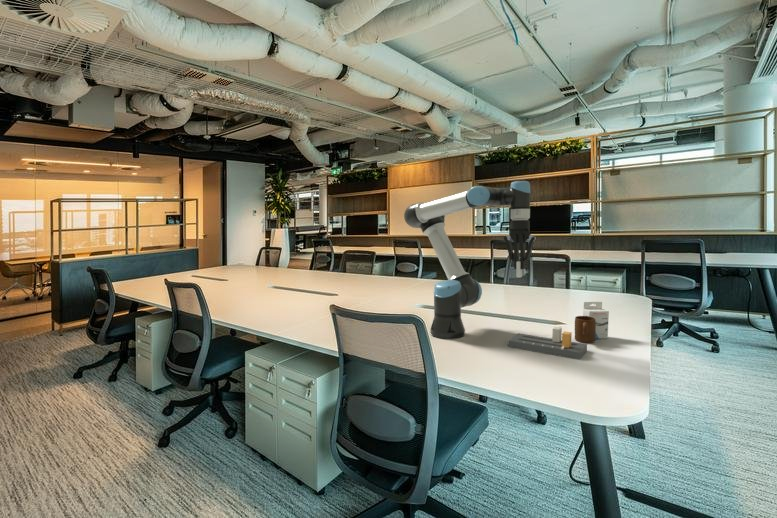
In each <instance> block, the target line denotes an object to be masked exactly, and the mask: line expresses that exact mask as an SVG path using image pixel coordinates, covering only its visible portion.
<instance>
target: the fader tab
mask: <svg viewBox="0 0 777 518" xmlns="http://www.w3.org/2000/svg"><path fill="white" fill-rule="evenodd" d="M572 333H573V332H571V331H562V338H561V340H562V346H564V347H566V348H569V347H570V346H571V342H572Z"/></svg>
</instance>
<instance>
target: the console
mask: <svg viewBox="0 0 777 518" xmlns="http://www.w3.org/2000/svg"><path fill="white" fill-rule="evenodd" d="M507 347H509V348H514V349H519V350H526V351H531V352H536V353H541V354H548V355H553V356H559V357H563V358H569V359H575V360H581V358H583V356H584V355H585V354H586V353H587V351H588V343H583V342H578V341H577V342H576V341H571V346H570V347H569V348H566V347H564V346H562V339H561V341H560V342H553V341H552V337H551V338H550V337H546V336H545V337H543V336H538V335H532V334H527V333H526V334H525V333H520V332H519V333H516V334H515V335H514V336H512V337H511V338H509V339H507Z"/></svg>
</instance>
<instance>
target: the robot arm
mask: <svg viewBox="0 0 777 518" xmlns="http://www.w3.org/2000/svg"><path fill="white" fill-rule="evenodd" d="M531 193H532V192H531V182H529V181H527V180H515V181H512V182H511V183H510V186H509V187H491V186H483V185H475V186H472V187H471V188H470V189H469V190H466V191H465V190H464V191H461V192H458V193H455V194H452V195H447V196H444V197H442V198H437V199H435V200H431V201H428V202H422V201H419V202H417V203H412V204H410V205H408V206H407V207H406V208H405V210H404V213H403V217H404V220H405V223H406V224H407V225H408V226H409V227H410V228H411V227H412V228H415V229H420V230H421V232H422V234H423V235H424V236H427V237H428V239H429V241H430V244H431V246H432V248H433V250H434V253H435V254H436V256H437V259H438V260H439V263H440V265H441V267H442V269H443V271H444V272H445V273H444V274H445V276H446V277H447V280H440V281H438V282H436V283H435V285H434V286H433V288H434V289H433V309H434V311H433V313H434V315H433V319H432V323H431V326H430V329H429V330H430V332H429V333H431V334H432V335H433V336H432V335H431V334H430V335H431V336H432V337H434V336H435V338H438V339H447V340H449V339H450V340H452V339H460V338H463V337H464V336H465V335H466V328H465V326H464V322H463V320H462V319H463V318H462V308H465V307H470V306H473V305H475V304H477V303H478V302H479V301H480V299H481V297H482V295H483V290H482V285H481V284H480V282H478V281H477V280H475V279H473V278H472V275H471V274H470V272H466V271H465V269H464V267H463V265H462V263H461V261H460V258H459V257H458V255H457V253H456V250H455V249H454V246H453V245H452V243H451V241H450V238H449V236H448V234H447V232H446V231H445V227H446V223H445V218H446V216H447V215H451V214H454V213H458V212H463V211H465V210H466V211H467V210H469V209H475V208H478V207H482V206H483V207H484V206H486V207H491V208H493V207H504V206H506V207H507V206H508V207H509V206H510V224H509V226H510V227H509V229H510V230H509V233H508V235H506V236H504V237H503V240H504V241H505V243H506V248H507V249H506V250H507V252H508V257H509V260H512V261H513V266H514V267H513V269H514V270H515V271H516V273H515V274H516V276H515V277H516V278H517V279H518V278H519V279H520V278H523V270H525V268H526V267H525V263H526V261H529V260H530V259H531V254H532V251H533V248H534V244H535V242H536V241H537V236H533V235H532V233H531V230H530V228H531V227H530V226H531V224H530V223H531V221H530V220H529V219H530V218H531ZM511 240H512V241H513V245H512V241H511ZM528 240H529V241H528ZM527 241H528V243H526V242H527ZM526 244H527V248H526ZM519 258H520V259H519Z"/></svg>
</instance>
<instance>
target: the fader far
mask: <svg viewBox="0 0 777 518" xmlns="http://www.w3.org/2000/svg"><path fill="white" fill-rule="evenodd" d="M562 328H563V327H562V326H561V327H560V326H554V327H553V328H552V336H551V338H552V341H553V342H560V341H561V340H562V333H563V331H562Z"/></svg>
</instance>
